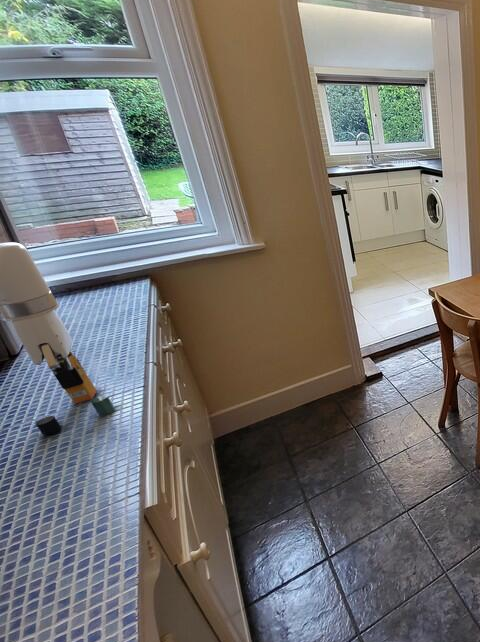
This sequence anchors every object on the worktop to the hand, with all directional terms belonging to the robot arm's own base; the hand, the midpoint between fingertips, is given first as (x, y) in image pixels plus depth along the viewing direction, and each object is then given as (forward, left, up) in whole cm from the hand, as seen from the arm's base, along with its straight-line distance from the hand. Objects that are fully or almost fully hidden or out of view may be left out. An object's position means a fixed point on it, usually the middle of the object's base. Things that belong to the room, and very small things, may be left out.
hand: (74, 380), depth 89 cm
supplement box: (0, 0, -5) cm, 5 cm away
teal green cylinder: (+10, -4, -5) cm, 12 cm away
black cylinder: (+6, -10, -5) cm, 13 cm away
